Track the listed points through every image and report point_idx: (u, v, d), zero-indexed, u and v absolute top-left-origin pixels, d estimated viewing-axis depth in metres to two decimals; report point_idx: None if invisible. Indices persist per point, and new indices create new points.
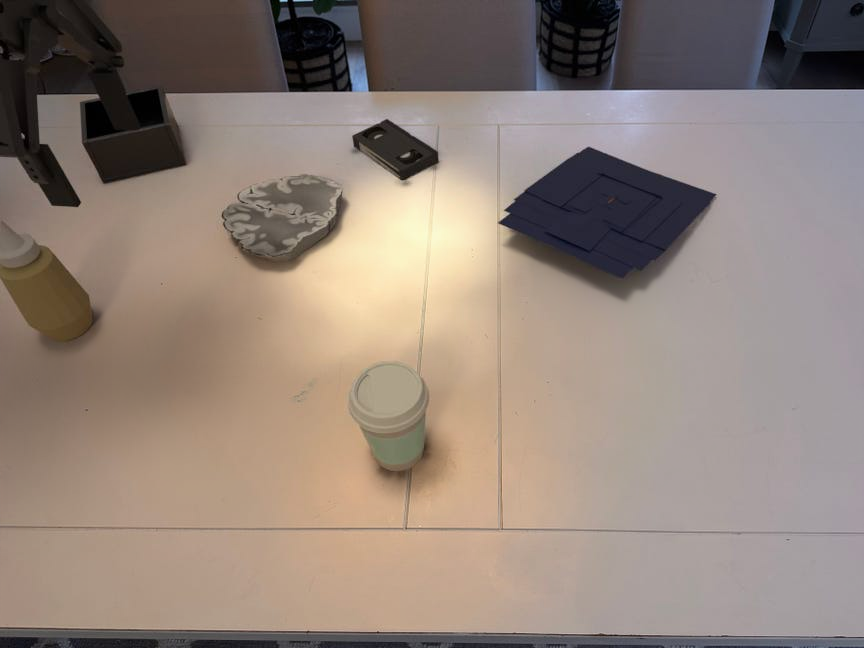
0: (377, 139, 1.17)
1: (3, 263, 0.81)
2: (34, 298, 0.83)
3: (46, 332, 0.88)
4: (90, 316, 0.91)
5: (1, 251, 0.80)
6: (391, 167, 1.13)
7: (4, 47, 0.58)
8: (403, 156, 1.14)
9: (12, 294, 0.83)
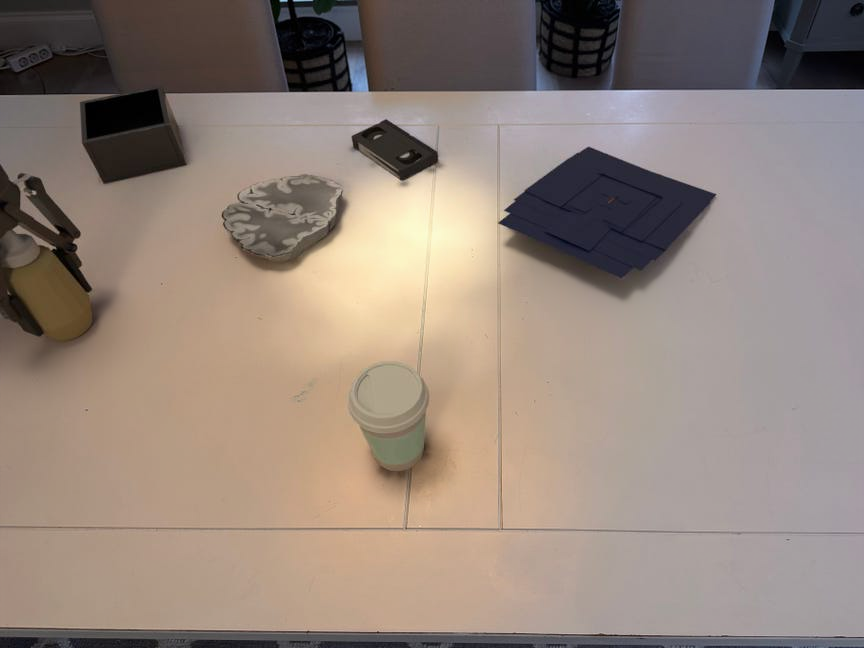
0: (376, 139, 1.17)
1: (3, 263, 0.81)
2: (34, 298, 0.83)
3: (46, 332, 0.88)
4: (90, 316, 0.91)
5: (1, 251, 0.80)
6: (391, 167, 1.13)
7: None
8: (403, 156, 1.14)
9: (12, 294, 0.83)
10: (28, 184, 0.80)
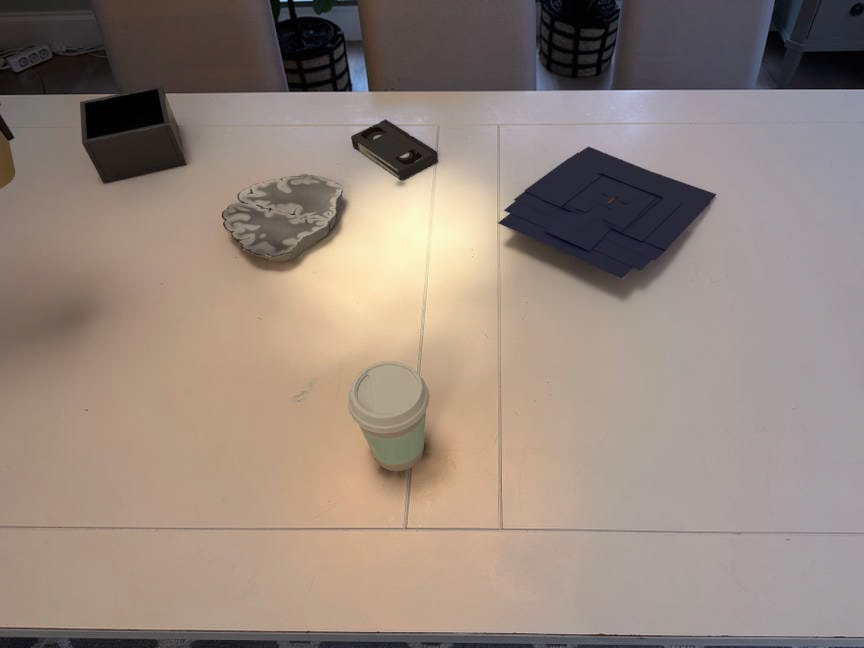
0: (376, 139, 1.17)
1: None
2: None
3: None
4: (11, 168, 0.77)
5: None
6: (390, 168, 1.13)
7: None
8: (402, 156, 1.14)
9: None
10: None
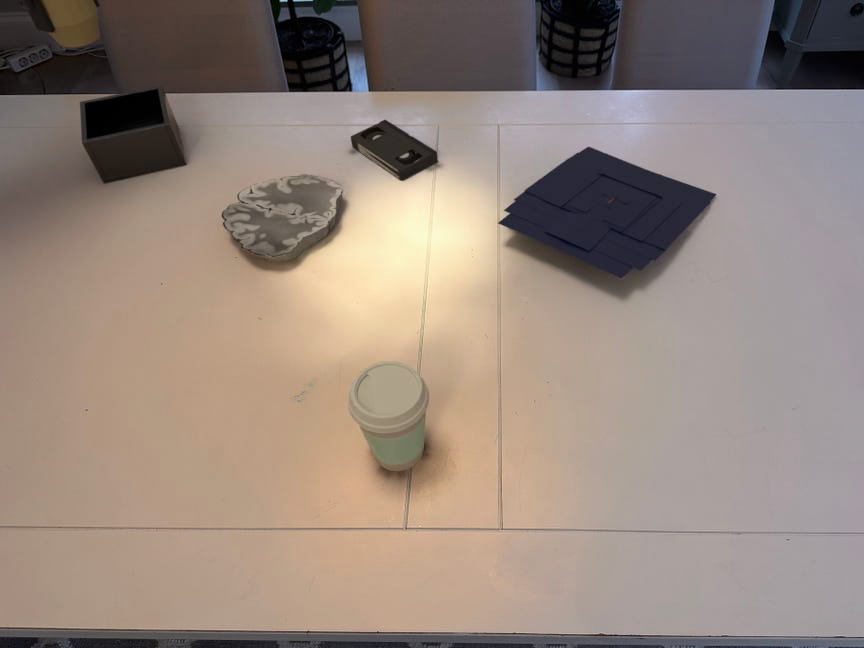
0: (376, 140, 1.17)
1: None
2: None
3: (57, 32, 0.96)
4: (98, 28, 0.99)
5: None
6: (390, 168, 1.13)
7: None
8: (402, 156, 1.14)
9: None
10: None
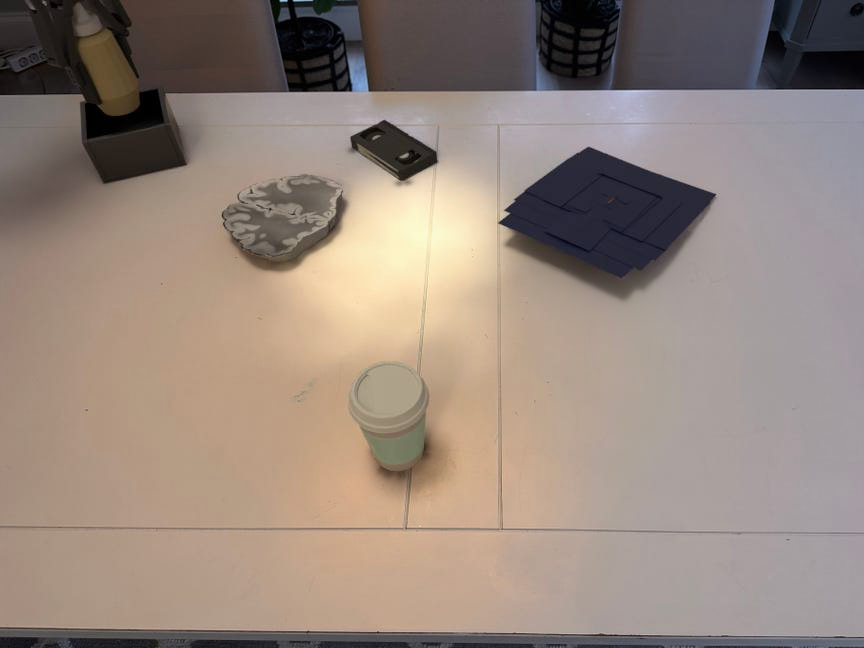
0: (375, 140, 1.17)
1: (73, 32, 1.00)
2: (96, 66, 1.03)
3: (104, 103, 1.07)
4: (138, 98, 1.11)
5: (72, 21, 1.00)
6: (390, 168, 1.13)
7: None
8: (402, 157, 1.14)
9: None
10: None
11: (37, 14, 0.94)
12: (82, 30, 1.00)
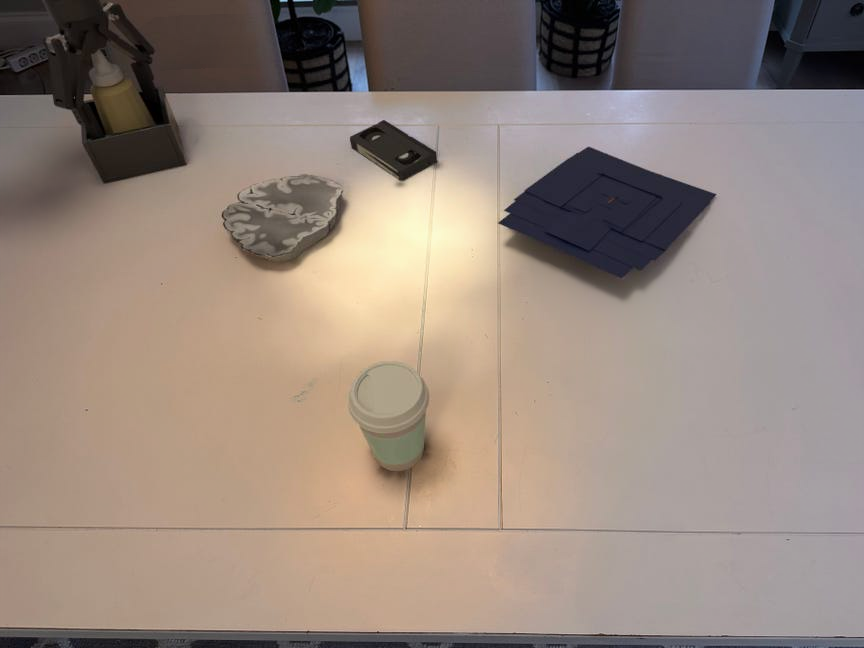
0: (375, 140, 1.17)
1: (97, 82, 1.06)
2: (118, 114, 1.09)
3: None
4: None
5: (95, 73, 1.06)
6: (390, 168, 1.13)
7: (71, 46, 1.01)
8: (401, 157, 1.14)
9: (101, 110, 1.09)
10: (112, 10, 1.05)
11: (55, 57, 0.99)
12: (105, 81, 1.06)
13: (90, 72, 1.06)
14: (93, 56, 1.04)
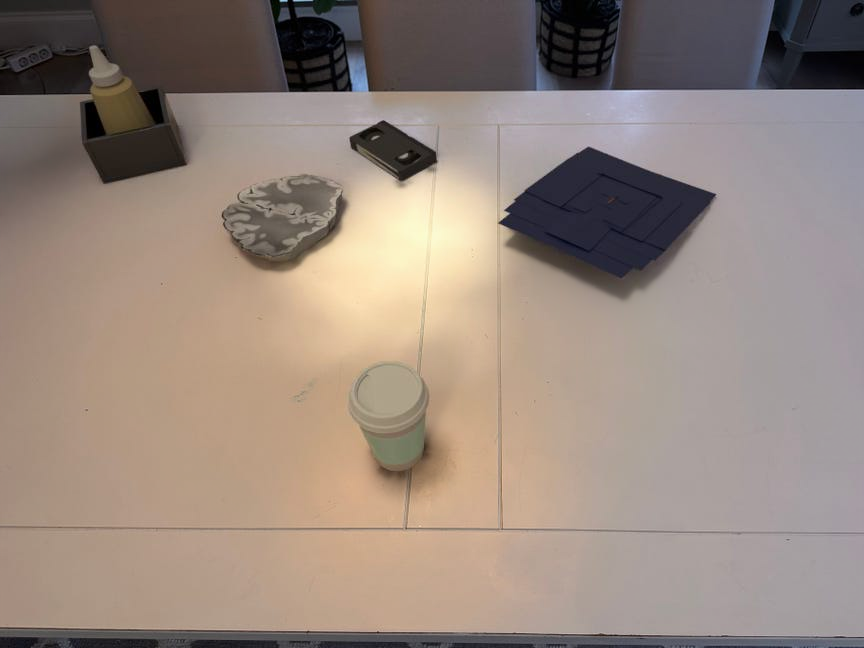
0: (374, 140, 1.17)
1: (97, 82, 1.06)
2: (118, 114, 1.09)
3: None
4: None
5: (95, 73, 1.06)
6: (389, 168, 1.13)
7: None
8: (401, 157, 1.14)
9: (101, 110, 1.09)
10: None
11: None
12: (105, 81, 1.06)
13: (90, 72, 1.06)
14: (93, 56, 1.04)
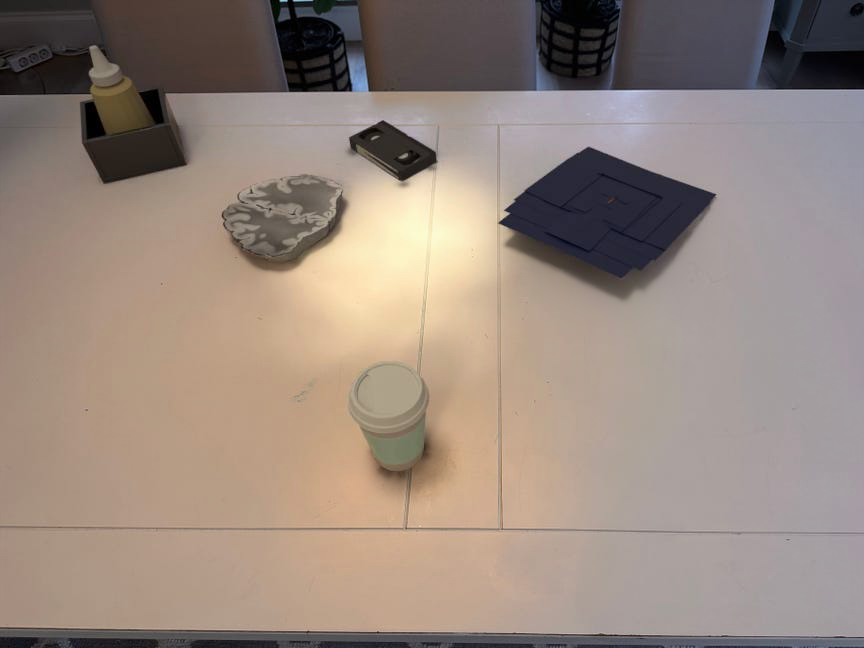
0: (374, 140, 1.17)
1: (97, 82, 1.06)
2: (118, 114, 1.09)
3: None
4: None
5: (95, 73, 1.06)
6: (389, 168, 1.13)
7: None
8: (401, 157, 1.14)
9: (101, 110, 1.09)
10: None
11: None
12: (105, 81, 1.06)
13: (90, 72, 1.06)
14: (93, 56, 1.04)
